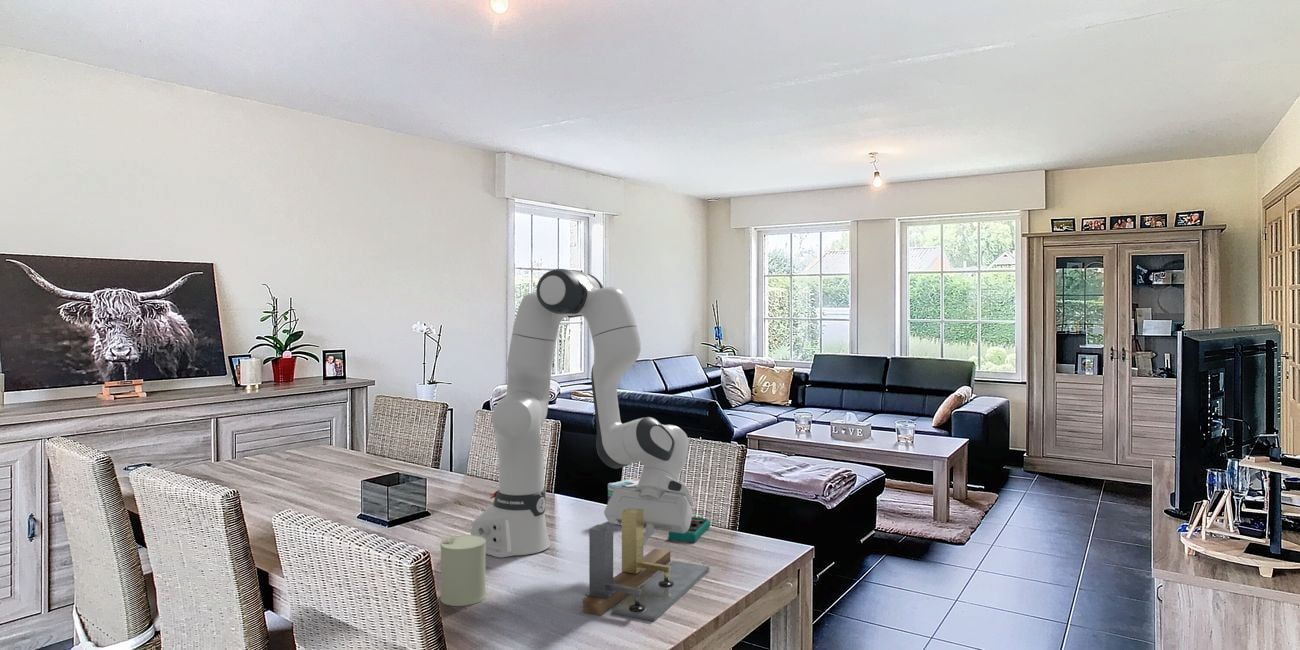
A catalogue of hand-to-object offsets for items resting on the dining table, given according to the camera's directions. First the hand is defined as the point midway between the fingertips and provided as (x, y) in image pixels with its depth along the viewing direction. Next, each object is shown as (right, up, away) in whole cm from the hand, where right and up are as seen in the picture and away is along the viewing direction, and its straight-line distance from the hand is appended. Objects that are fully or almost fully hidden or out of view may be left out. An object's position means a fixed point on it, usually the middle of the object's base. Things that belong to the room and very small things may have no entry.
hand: (637, 543), depth 161 cm
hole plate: (+6, -8, -6) cm, 12 cm away
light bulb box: (-3, -7, +45) cm, 46 cm away
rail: (-1, -8, -3) cm, 9 cm away
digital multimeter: (+13, -8, +33) cm, 37 cm away
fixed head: (-4, -7, -16) cm, 18 cm away
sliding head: (+2, -6, -4) cm, 7 cm away
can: (-36, -8, -10) cm, 38 cm away
